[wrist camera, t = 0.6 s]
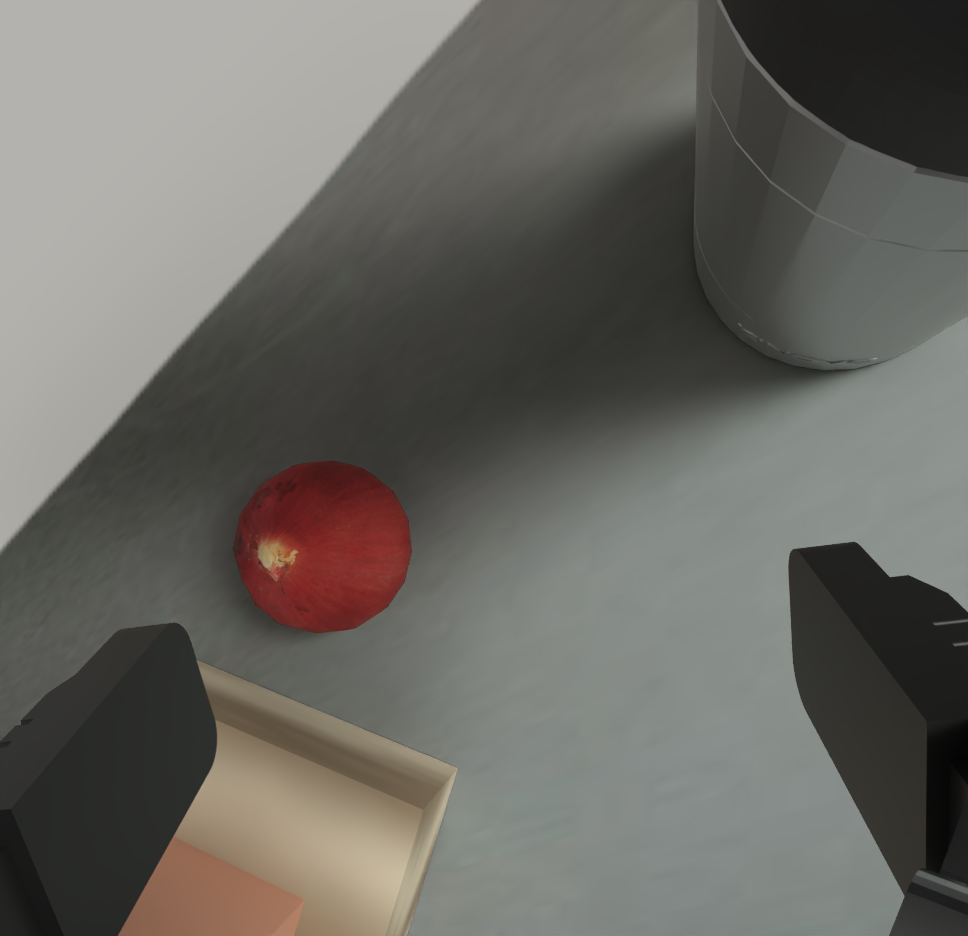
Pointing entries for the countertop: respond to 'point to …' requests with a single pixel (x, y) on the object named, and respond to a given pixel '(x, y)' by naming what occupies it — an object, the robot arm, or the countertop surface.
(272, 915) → the tall salmon pillar
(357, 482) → the onion
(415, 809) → the wooden square slab
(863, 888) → the countertop surface
